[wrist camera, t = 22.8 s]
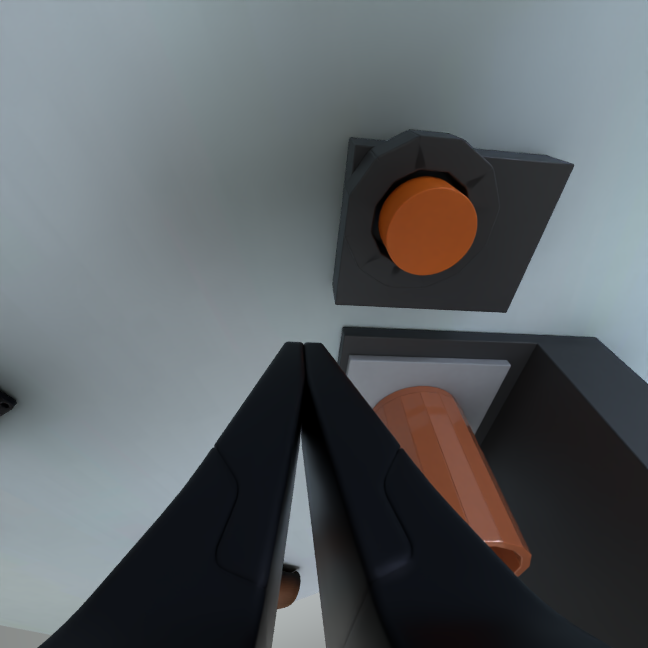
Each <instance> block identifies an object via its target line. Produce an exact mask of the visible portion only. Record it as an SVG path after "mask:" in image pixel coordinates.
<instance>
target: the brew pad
mask: <svg viewBox="0 0 648 648" xmlns="http://www.w3.org/2000/svg"><path fill="white" fill-rule="evenodd" d="M573 167H574V164H572V163H569V162H566V161H562V160H559V159H556V158H553V157H550V156H547V155H537V154H526V153H515V152H505V151H494V150H483V149H474V148H473V147H472V146H471V145H470V144H469V143H468V142H467V141H465V140H464V139H461V138H459V137H456V136H454V135H451V134H449V133H442V132H431V131H421V130H408V131H405V132H403V133H401V134H399V135H397V136H395V137H393V138H391V139H389V140H387V141H385V140H374V139H363V138H353V137H350V138H349V147H348V155H347V164H346V173H345V181H344V190H343V198H342V207H341V216H340V224H339V233H338V242H337V250H336V259H335V268H334V276H333V292H334V299H335V304H336V305H354V306H375V307H396V308H417V309H439V310H460V311H481V312H502V313H506V312H507V310H508V308H509V306H510V304H511V301H512V299H513V297H514V295H515V293H516V291H517V288H518V286H519V284H520V282H521V280H522V278H523V275H524V273H525V271H526V269H527V267H528V265H529V262H530V260H531V258H532V256H533V254H534V252H535V249H536V247H537V245H538V243H539V241H540V239H541V236H542V234H543V232H544V230H545V228H546V226H547V223H548V221H549V219H550V217H551V215H552V213H553V211H554V208H555V206H556V204H557V202H558V200H559V198H560V195H561V193H562V191H563V189H564V187H565V185H566V182H567V180H568V178H569V176H570V174H571V172H572V169H573ZM421 176H432V177H437V178H440V179H442V180H444V181H446V182H447V183H449V184H450V185H452V186H453V187H454V188H456V189H457V190H458V191H460V192H461V193H462V194H464V195H465V196H466V197H467V198H468V199H469V200H470V201H471V203H472V204H473V206H474V208H475V211H476V215H477V231H476V235H475V238H474V241H473V243H472V245H471V247H470V249H469V250H468V251H467V253H466V254H465V255H464V256H463V257H462V259H460V260H459V261H458V262H457V263H456V264H454V265H453V266H452V267H450V268H448V269H446V270H444V271H442V272H439V273H436V274H432V275H415V274H411V273H408V272H405V271H404V270H402V269H400V268H399V267H398V266H397V265H396V264H395V263H394V262H393V261H392V259H391V258H390V256H389V254H388V252H387V249H386V247H385V245H384V243H383V241H382V239H381V237H380V234H379V228H378V220H379V214H380V211H381V208H382V206H383V204H384V202H385V200H386V199H387V197H388V196H389V195H390V193H391V192H392V191H393V190H394V189H395V188H397V187H398V186H399V185H401V184H402V183H404V182H406V181H408V180H410V179H412V178H416V177H421Z"/></svg>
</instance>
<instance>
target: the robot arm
mask: <svg viewBox="0 0 648 648" xmlns="http://www.w3.org/2000/svg"><path fill="white" fill-rule="evenodd" d="M16 404H17V402H16V400H14V399H13V398H12V397H10V396H8V395H7V394H5V393H3V392H2V391H0V416H1V415H3V414H5V413H6V412H8V411H10V410H12V409H13V407H14V406H15V405H16ZM300 434H301V440H302V450H303V458H304V467H305V475H306V483H307V492H308V500H309V508H310V517H311V525H312V533H313V542H314V550H315V558H316V567H317V575H318V584H319V592H320V600H321V608H322V616H323V625H324V633H325V641H326V648H613V647H611V646H610V645H608V644H606V643H604V642H603V641H601V640H599V639H598V638H596V637H594V636H593V635H591V634H589V633H588V632H586V631H584V630H582V629H581V628H579V627H578V626H576V625H574V624H573V623H571V622H570V621H568V620H567V619H566V618H564V617H563V616H561V615H560V614H559V613H557V612H556V611H555V610H554V609H552V608H551V607H550V606H549V605H547V604H546V603H545V602H544V601H542V600H541V599H540V598H539V597H538V596H537V595H536V594H535V593H534V592H532V591H531V590H530V589H529V588H528V587H527V586H526V585H525V584H524V583H523V582H522V581H521V580H520V579H519V578H518V577H517V576H516V575H515V574H514V573H513V571H512V570H511V569H510V568H509V567H508V566H507V565H506V564H505V563H504V562H503V561H502V560H501V559H500V558H499V557H498V556H497V555H496V553H495V552H494V551H493V550H492V549H491V548H490V547H489V546H488V545H487V544H486V543H485V542H484V541H483V540H482V539H481V538H480V536H479V535H478V534H477V533H476V532H475V531H474V530H473V529H472V528H471V527H470V526H469V525H468V524H467V523H466V522H465V521H464V519H463V518H462V517H461V516H460V515H459V514H458V513H457V512H456V511H455V510H454V509H453V508H452V507H451V505H450V504H449V503H448V502H447V501H446V500H445V499H444V498H443V497H442V495H441V494H440V493H439V492H438V491H437V490H436V489H435V488H434V487H433V485H432V484H431V483H430V482H429V480H428V479H427V478H426V477H425V476H424V474H423V473H422V472H421V471H420V469H419V468H418V467H417V466H416V465H415V463H414V462H413V461H412V459H411V458H410V457H409V456H408V454H407V453H406V452H405V450H404V449H403V448H400V444H399V443H398V441H397V440H396V439H395V438H394V436H393V435H392V434H391V432H390V431H389V430H388V428H387V427H386V426H385V425H384V423H383V422H382V421H381V419H380V418H379V417H378V415H377V414H376V413H375V412H374V410H373V409H372V408H371V406H370V405H369V404H368V402H367V401H366V400H365V399H364V397H363V396H362V395H361V393H360V392H359V391H358V389H357V388H356V387H355V386H354V384H353V383H352V382H351V380H350V379H349V378H348V376H347V375H346V374H345V373H344V371H343V370H342V369H341V367H340V366H339V365H338V364H337V362H336V361H335V360H334V358H333V357H332V356H331V354H330V353H329V352H328V351H327V349H326V348H325V347H324V345H323V344H321V343H312V342H306V343H305V344H304V345H303V343H302V342H286V343H285V344H284V345H283V346H282V348H281V349H280V351H279V352H278V354H277V355H276V357H275V358H274V359H273V361H272V362H271V364H270V365H269V367H268V368H267V370H266V371H265V372H264V374H263V375H262V377H261V378H260V380H259V381H258V383H257V384H256V385H255V387H254V388H253V390H252V391H251V393H250V394H249V396H248V397H247V398H246V400H245V401H244V403H243V404H242V406H241V407H240V409H239V410H238V412H237V413H236V414H235V416H234V417H233V419H232V420H231V422H230V423H229V425H228V426H227V427H226V429H225V430H224V432H223V433H222V435H221V436H220V438H219V439H218V440H217V442H216V443H215V445H214V448H212V449H211V450H210V452H209V453H208V455H207V456H206V457H205V459H204V460H203V462H202V463H201V465H200V466H199V467H198V469H197V470H196V471H195V473H194V474H193V476H192V477H191V478H190V480H189V481H188V482H187V484H186V485H185V486H184V488H183V489H182V490H181V491H180V493H179V494H178V495H177V496H176V497H175V499H174V500H173V501H172V502H171V503H170V505H169V506H168V507H167V508H166V510H165V511H164V512H163V513H162V514H161V516H160V517H159V518H158V519H157V520H156V521H155V523H154V524H153V525H152V526H151V527H150V528H149V529H148V531H147V532H146V533H145V534H144V535H143V536H142V537H141V539H140V540H139V541H138V542H137V543H136V544H135V545H134V547H133V548H132V549H131V550H130V551H129V552H128V554H127V555H126V556H125V557H124V558H123V559H122V560H121V562H120V563H119V564H118V565H117V566H116V567H115V568H114V570H113V571H112V572H111V573H110V574H109V575H108V577H107V578H106V579H105V580H104V581H103V582H102V583H101V585H100V586H99V587H98V588H97V589H96V590H95V591H94V593H93V594H92V595H91V596H90V597H89V598H88V599H87V600H86V602H85V603H84V604H83V605H82V606H81V607H80V608H79V609H78V610H77V611H76V612H75V613H74V614H73V615H72V616H71V617H70V618H69V620H68V621H67V622H66V623H65V624H64V625H62V626H61V627H60V628H59V629H58V630H57V631H56V632H55V633H54V634H53V635H52V636H51V637H50V638H48V639H47V640H46V641H45V642H44V643H43V644H42V645H40V646H39V647H38V648H271V647H272V641H273V633H274V626H275V619H276V612H277V604H278V597H279V590H280V583H281V575H282V568H283V561H284V554H285V546H286V539H287V532H288V525H289V517H290V510H291V503H292V496H293V488H294V481H295V474H296V467H297V459H298V452H299V444H300Z"/></svg>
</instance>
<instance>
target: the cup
mask: <svg viewBox="0 0 648 648" xmlns="http://www.w3.org/2000/svg"><path fill="white" fill-rule="evenodd" d="M373 410H374V412H375V413H376V414H377V415H378V417H379V418H380V419H381V421H382V422H383V423H384V425H385V426H386V427H387V428H388V430H389V431H390V432H391V434H392V435H393V436H394V438H395V439H396V440H397V441H398V443H399V444H400V448H403V449H404V450H405V452H406V453H407V454H408V456H409V457H410V458H411V459H412V461H413V462H414V463H415V465H416V466H417V467H418V468H419V469H420V471H421V472H422V473H423V474H424V476H425V477H426V478H427V479H428V480H429V482H430V483H431V484H432V485H433V487H434V488H435V489H436V490H437V491H438V492H439V493H440V494H441V495H442V497H443V498H444V499H445V500H446V501H447V502H448V503H449V504H450V505H451V507H452V508H453V509H454V510H455V511H456V512H457V513H458V514H459V515H460V516H461V517H462V518H463V519H464V521H465V522H466V523H467V524H468V525H469V526H470V527H471V528H472V529H473V530H474V531H475V532H476V533H477V534H478V535H479V536H480V538H481V539H482V540H483V541H484V542H485V543H486V544H487V545H488V546H489V547H490V548H491V549H492V550H493V551H494V552H495V553H496V555H497V556H498V557H499V558H500V559H501V560H502V561H503V562H504V563H505V564H506V565H507V566H508V567H509V568H510V569H511V570H512V571H513V573H514V574H515V575H516V576H517V577H519V576H520V575H521V574H522V573H523V572H524V571H525V570H526V569H527V568H529V567H530V562H531V557H532V555H531V553H530V551H529V548H528V546H527V544H526V542H525V540H524V538H523V536H522V534H521V532H520V530H519V528H518V525H517V523H516V521H515V519H514V517H513V515H512V513H511V511H510V509H509V507H508V505H507V502H506V500H505V498H504V496H503V494H502V492H501V490H500V488H499V486H498V484H497V482H496V479H495V477H494V475H493V473H492V471H491V469H490V467H489V465H488V463H487V461H486V459H485V456H484V454H483V452H482V450H481V448H480V446H479V444H478V442H477V440H476V438H475V436H474V433H473V431H472V429H471V427H470V425H469V423H468V421H467V419H466V417H465V415H464V413H463V410H462V409H461V407H460V406H459V404H458V402H457V400H456V399H455V397H454V396H453V395H451V394H450V393H449V392H447V391H445V390H443V389H440V388H437V387H431V386H414V387H409V388H405V389H401V390H398V391H396V392H394V393H391V394H389V395H388V396H386V397H385V398H383V399H382V400H381V401H379V402H378V403H377V404H376V405H375V407H374V408H373Z"/></svg>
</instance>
